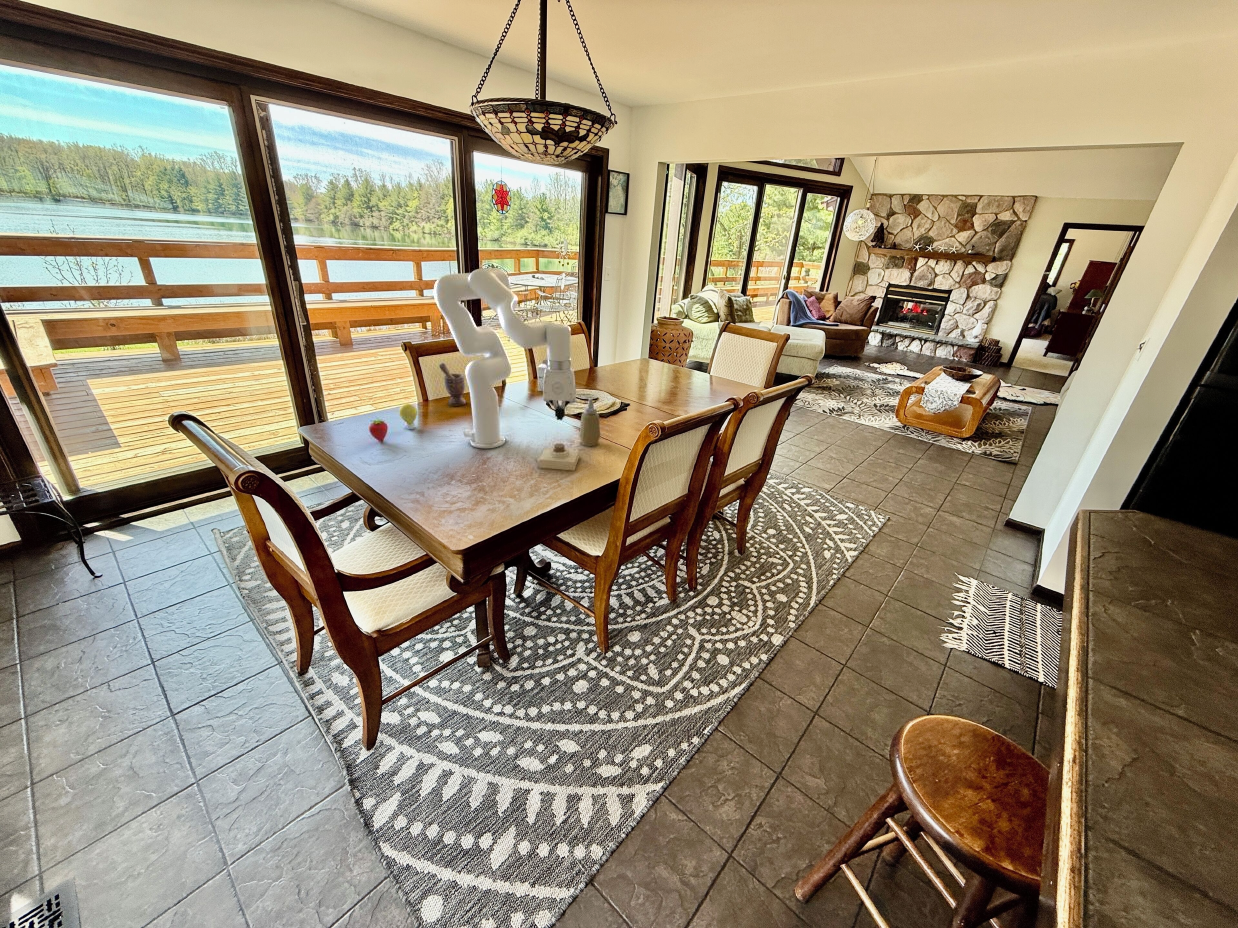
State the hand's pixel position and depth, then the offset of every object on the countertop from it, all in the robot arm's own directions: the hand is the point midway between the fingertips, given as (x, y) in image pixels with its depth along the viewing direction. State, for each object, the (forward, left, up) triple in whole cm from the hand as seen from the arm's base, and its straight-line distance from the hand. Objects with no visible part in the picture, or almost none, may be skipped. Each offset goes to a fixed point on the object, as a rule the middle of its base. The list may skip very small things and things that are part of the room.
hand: (560, 418), depth 161 cm
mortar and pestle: (-58, +52, -17) cm, 80 cm away
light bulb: (-64, +21, -17) cm, 70 cm away
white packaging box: (-23, +84, -17) cm, 89 cm away
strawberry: (-68, +6, -17) cm, 71 cm away
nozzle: (0, 0, -12) cm, 12 cm away
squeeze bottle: (+8, +19, -17) cm, 27 cm away
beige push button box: (0, 0, -17) cm, 17 cm away
